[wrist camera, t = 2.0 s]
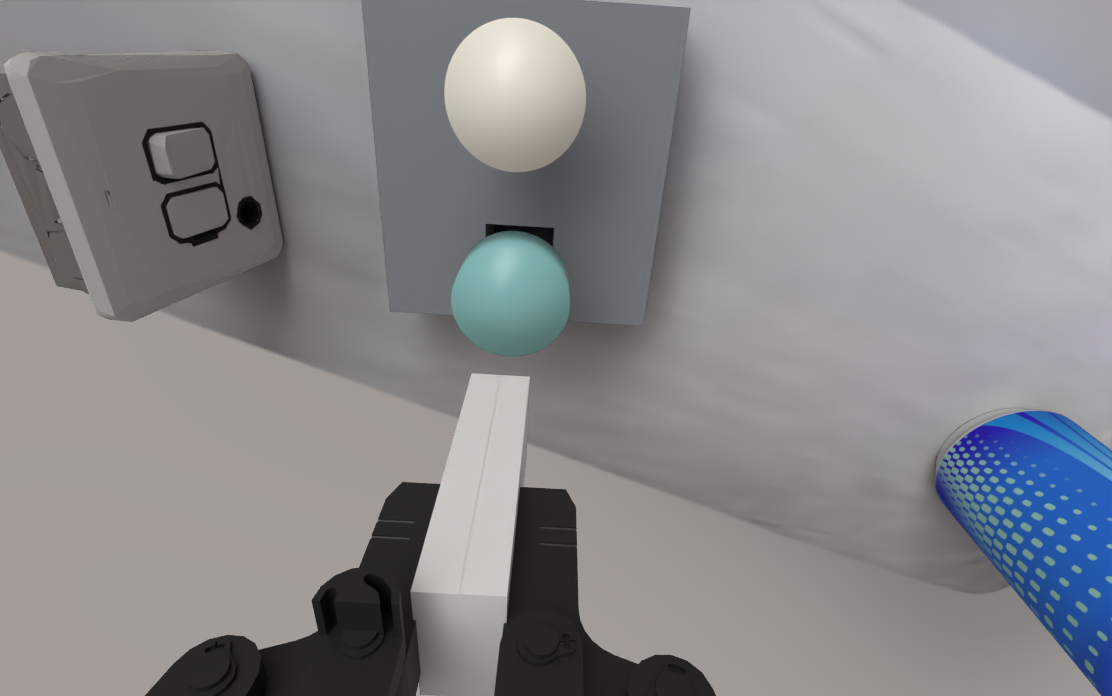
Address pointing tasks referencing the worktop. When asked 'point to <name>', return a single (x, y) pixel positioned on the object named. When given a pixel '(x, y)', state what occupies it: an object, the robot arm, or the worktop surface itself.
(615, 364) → the worktop surface
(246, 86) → the electrical switch
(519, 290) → the knob teal
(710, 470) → the worktop surface
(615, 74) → the mount block
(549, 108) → the knob cream
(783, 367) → the worktop surface
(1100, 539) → the beer can
